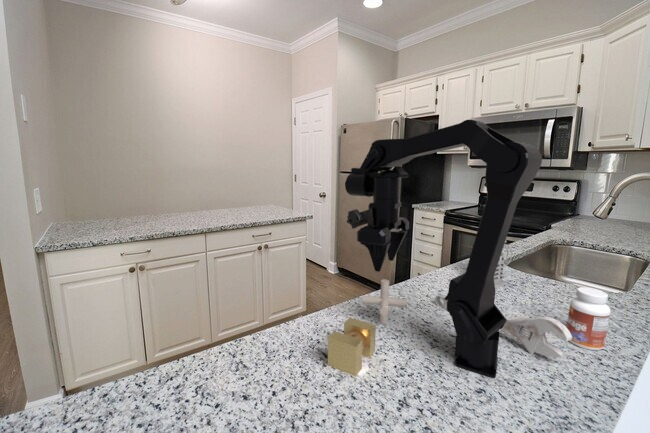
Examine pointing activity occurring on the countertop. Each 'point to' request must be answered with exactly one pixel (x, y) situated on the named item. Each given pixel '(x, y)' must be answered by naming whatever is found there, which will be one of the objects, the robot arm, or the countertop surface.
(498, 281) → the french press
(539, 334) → the wrench
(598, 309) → the pill bottle
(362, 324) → the square-ended brass dumbbell
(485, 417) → the countertop surface
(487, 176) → the robot arm
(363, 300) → the pipe connector
